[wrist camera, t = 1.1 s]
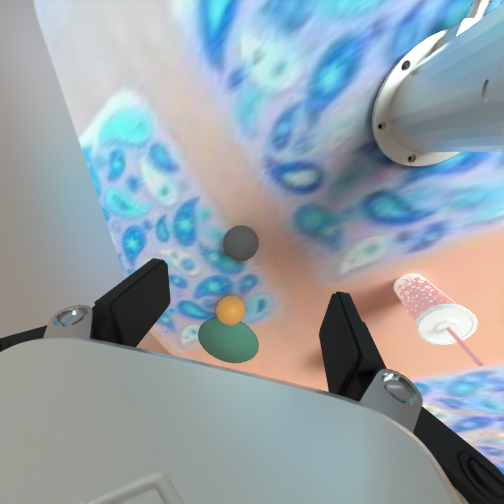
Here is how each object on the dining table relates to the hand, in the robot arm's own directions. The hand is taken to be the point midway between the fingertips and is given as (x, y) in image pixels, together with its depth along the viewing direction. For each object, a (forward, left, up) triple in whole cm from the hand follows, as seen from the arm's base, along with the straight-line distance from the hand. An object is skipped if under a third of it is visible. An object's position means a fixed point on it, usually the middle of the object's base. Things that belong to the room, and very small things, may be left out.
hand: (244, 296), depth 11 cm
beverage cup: (+8, +24, -23) cm, 34 cm away
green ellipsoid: (+32, -4, -22) cm, 39 cm away
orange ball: (+20, -4, -20) cm, 29 cm away
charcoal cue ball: (+6, -4, -20) cm, 21 cm away
